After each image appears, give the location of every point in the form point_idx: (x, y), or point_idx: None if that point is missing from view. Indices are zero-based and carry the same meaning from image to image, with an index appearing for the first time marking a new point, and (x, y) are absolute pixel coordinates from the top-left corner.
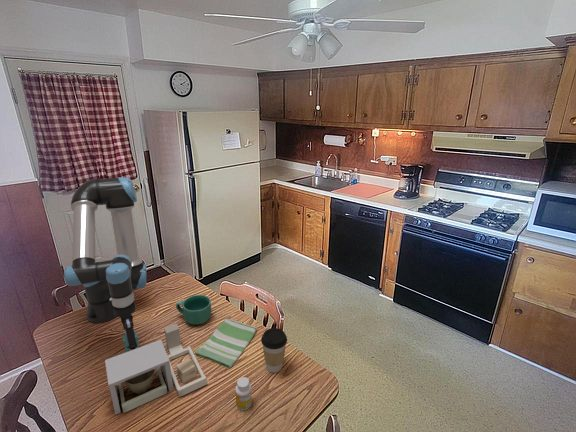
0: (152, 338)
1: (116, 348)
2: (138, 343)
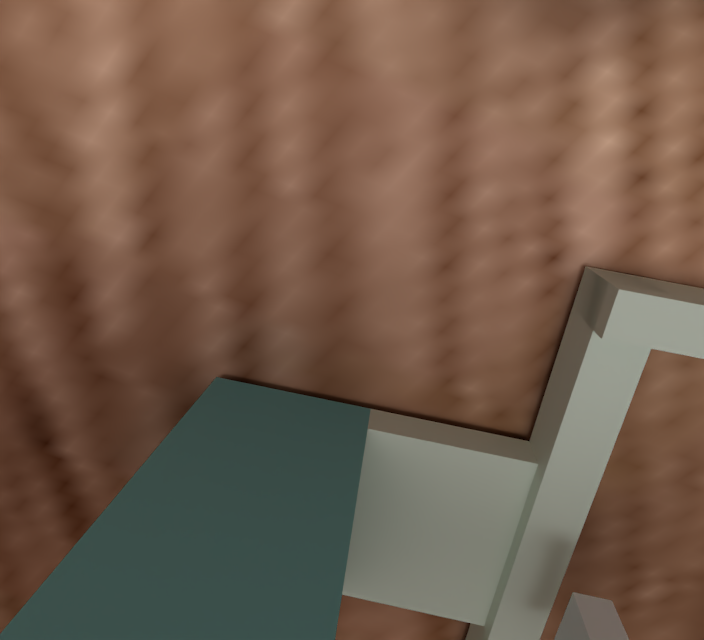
0: (88, 107)
1: (28, 563)
2: (340, 597)
